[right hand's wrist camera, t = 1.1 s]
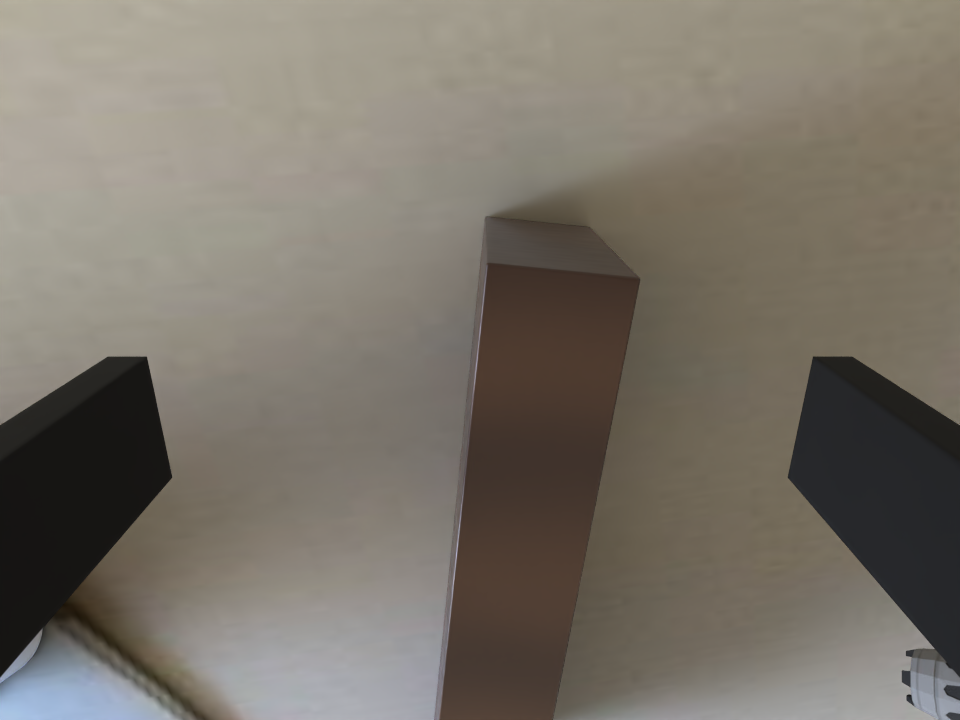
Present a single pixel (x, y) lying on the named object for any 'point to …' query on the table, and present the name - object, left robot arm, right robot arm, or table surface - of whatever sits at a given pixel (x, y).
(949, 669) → the robot
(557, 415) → the walnut box
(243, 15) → the table surface
